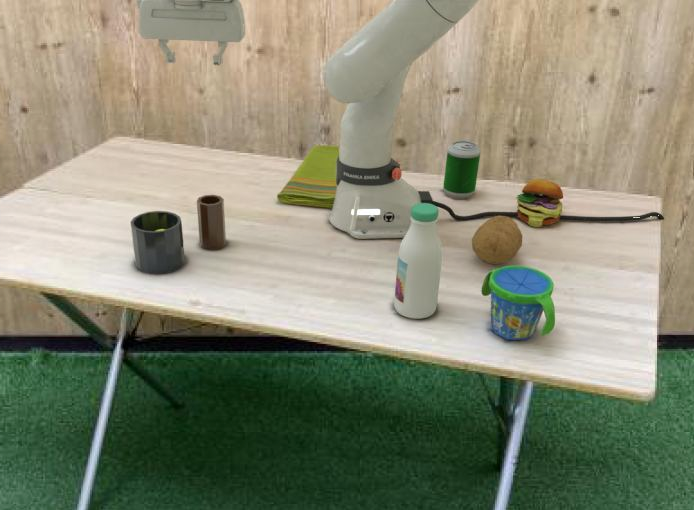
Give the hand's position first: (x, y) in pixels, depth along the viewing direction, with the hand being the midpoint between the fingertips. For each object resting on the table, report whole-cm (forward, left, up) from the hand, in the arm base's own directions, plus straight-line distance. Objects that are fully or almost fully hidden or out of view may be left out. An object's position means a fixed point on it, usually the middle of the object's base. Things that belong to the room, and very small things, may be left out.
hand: (194, 63), depth 154 cm
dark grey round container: (+5, +19, -34) cm, 39 cm away
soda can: (-56, -24, -34) cm, 70 cm away
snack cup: (-63, +35, -34) cm, 80 cm away
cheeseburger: (-73, -13, -34) cm, 82 cm away
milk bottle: (-46, +30, -34) cm, 65 cm away
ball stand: (-4, +10, -34) cm, 36 cm away
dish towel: (-24, -29, -34) cm, 51 cm away
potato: (-62, +8, -34) cm, 71 cm away
